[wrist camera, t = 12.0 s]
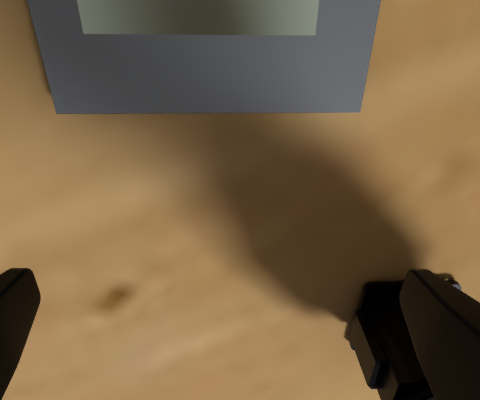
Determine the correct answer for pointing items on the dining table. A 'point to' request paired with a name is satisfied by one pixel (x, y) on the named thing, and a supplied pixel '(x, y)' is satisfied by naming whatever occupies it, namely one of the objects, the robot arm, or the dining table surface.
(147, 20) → the sage block
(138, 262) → the dining table surface
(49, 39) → the gray board
